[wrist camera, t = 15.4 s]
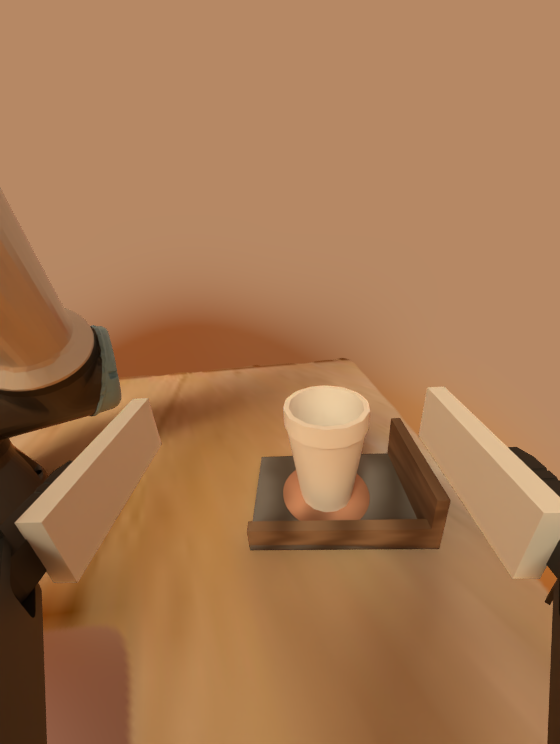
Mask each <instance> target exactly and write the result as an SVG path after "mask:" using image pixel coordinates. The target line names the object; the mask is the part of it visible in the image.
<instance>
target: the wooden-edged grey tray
mask: <svg viewBox="0 0 560 744" xmlns="http://www.w3.org/2000/svg"><path fill="white" fill-rule="evenodd" d="M449 505H450V499H449V497H448V495H447V494H446V492H445V491H444V489H443V487H442V486H441V484H440V483H439V481H438V479H437V478H436V476H435V474H434V473H433V471H432V470H431V468H430V466H429V465H428V463H427V461H426V460H425V458H424V457H423V455H422V453H421V452H420V450H419V448H418V447H417V445H416V444H415V442H414V440H413V439H412V437H411V435H410V434H409V432H408V431H407V429H406V427H405V426H404V424H403V422H402V421H401V419H400V418H392V419H391V425H390V435H389V445H388V453H387V454H361V457H360V461H359V465H358V470H357V474H356V478H355V483H354V487H353V491H352V495H351V498H350V500H349V502H348V504H347V505H346V506H345V507H343V508H342V509H340V510H338V511H334V512H323V511H319V510H315V509H313V508H312V507H311V506H309V505H308V504H307V503H306V502H305V500H304V498H303V496H302V492H301V489H300V485H299V481H298V476H297V472H296V467H295V463H294V459H293V456H283V457H262V460H261V467H260V474H259V481H258V488H257V495H256V502H255V509H254V516H253V521H250V522H248V528H247V535H248V541H249V547H250V550H337V549H439V547H440V543H441V539H442V534H443V530H444V526H445V522H446V517H447V513H448V509H449Z"/></svg>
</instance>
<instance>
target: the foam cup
mask: <svg viewBox="0 0 560 744" xmlns="http://www.w3.org/2000/svg"><path fill="white" fill-rule="evenodd" d="M283 414H284V426H285V428H286V430H287V432H288V436H289V441H290V445H291V450H292V454H293V459H294V463H295V467H296V472H297V476H298V481H299V485H300V489H301V492H302V496H303V498H304V500H305V502H306V503H307V504H308V505H309V506H311V507H312V508H313V509H315V510H319V511H323V512H334V511H338V510H340V509H342V508H343V507H345V506H346V505H347V504H348V502H349V500H350V498H351V495H352V491H353V487H354V483H355V478H356V474H357V470H358V465H359V461H360V457H361V452H362V448H363V444H364V439H365V435H366V433H367V431H368V430H369V419H370V409H369V404H368V401H367V400H366V399H365V398H364V397H363V396H361V395H360V394H359V393H358V392H355V391H352V390H349V389H346V388H344V387H336V386H327V385H325V386H314V387H308V388H305V389H302V390H299V391H296V392H294V393H293V394H292V395H291V396H289V397H288V398H287V399H286V400H285V404H284V407H283Z"/></svg>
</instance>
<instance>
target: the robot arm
mask: <svg viewBox="0 0 560 744" xmlns="http://www.w3.org/2000/svg"><path fill="white" fill-rule="evenodd" d="M120 401H121V389H120V383H119V378H118V374H117V369H116V363H115V358H114V353H113V349H112V345H111V341H110V337H109V334H108V331H107V330H106V328H104V327H101V326H94V325H93V326H89V324H88V323H87V321H86V320H85V319H84V318H83V317H81V316H80V315H79V314H77V313H75V312H73V311H71V310H69V309H66V308H64V307H63V305H62V303H61V301H60V300H59V298H58V296H57V294H56V292H55V290H54V288H53V286H52V284H51V283H50V281H49V279H48V277H47V275H46V273H45V271H44V269H43V268H42V266H41V264H40V262H39V260H38V258H37V256H36V254H35V253H34V251H33V249H32V247H31V245H30V243H29V241H28V239H27V237H26V235H25V234H24V232H23V230H22V228H21V226H20V224H19V222H18V220H17V218H16V217H15V215H14V213H13V211H12V209H11V207H10V205H9V203H8V202H7V200H6V198H5V196H4V194H3V192H2V190H1V188H0V744H47V735H46V705H45V677H44V676H45V675H44V647H43V617H42V590H41V588H40V585H39V584H38V582H39V581H40V579H41V578H42V576H43V575H44V574H45V572H47V573H48V575H49V576H50V578H51V579H52V581H53V582H54V583H77V582H78V581H79V579H80V578H81V576H82V574H83V573H84V571H85V569H86V568H87V566H88V564H89V563H90V561H91V559H92V558H93V556H94V555H95V553H96V551H97V550H98V548H99V546H100V545H101V543H102V541H103V540H104V538H105V536H106V535H107V533H108V531H109V530H110V528H111V527H112V525H113V523H114V522H115V520H116V518H117V517H118V515H119V513H120V512H121V510H122V508H123V507H124V505H125V504H126V502H127V500H128V499H129V497H130V495H131V494H132V492H133V490H134V489H135V487H136V485H137V484H138V482H139V480H140V479H141V477H142V476H143V474H144V472H145V471H146V469H147V467H148V466H149V464H150V462H151V461H152V459H153V457H154V456H155V454H156V453H157V451H158V449H159V448H160V446H161V444H162V443H161V440H160V436H159V433H158V430H157V426H156V423H155V419H154V416H153V412H152V409H151V406H150V402H149V399H148V398H142V399H132V400H131V401H130V402H129V403H128V404H127V405H126V407H125V408H124V409H123V410H122V411H121V412H120V413H119V414H118V415H117V416H116V417H115V418H114V419H113V420H112V421H111V422H110V423H109V424H108V425H107V426H106V427H105V429H104V430H103V431H102V432H101V433H100V434H99V435H98V436H97V437H96V438H95V439H94V440H93V441H92V442H91V443H90V444H89V445H88V446H87V447H86V448H85V449H84V450H83V452H82V453H81V454H80V455H79V456H78V457H77V458H76V459H75V460H74V461H68V462H67V463H65V464H64V465H62V466H61V467H59V468H58V469H56V470H55V471H54V472H53V473H52V474H51V475H50V476H49V477H48V475H47V473H46V472H45V470H44V469H43V468H42V467H41V466H40V465H39V464H37V463H36V462H35V461H33V460H32V459H31V458H29V457H28V456H27V455H25V454H24V453H23V452H21V451H20V450H19V449H17V448H16V447H15V446H13V444H12V443H11V441H10V440H9V438H10V437H14V436H17V435H21V434H24V433H28V432H32V431H35V430H39V429H43V428H46V427H50V426H54V425H57V424H61V423H65V422H68V421H72V420H75V419H79V418H83V417H86V416H96V415H97V414H98V413H101V412H104V411H107V410H110V409H113V408H115V407H116V406H117V405H118V404H119V403H120ZM419 437H420V439H421V440H422V442H423V444H424V445H425V447H426V448H427V450H428V451H429V453H430V454H431V456H432V457H433V459H434V460H435V462H436V463H437V465H438V466H439V468H440V469H441V471H442V472H443V474H444V475H445V477H446V479H447V480H448V482H449V483H450V485H451V486H452V488H453V489H454V491H455V492H456V494H457V495H458V497H459V498H460V500H461V501H462V503H463V504H464V506H465V507H466V509H467V510H468V512H469V514H470V515H471V517H472V518H473V520H474V521H475V523H476V524H477V526H478V527H479V529H480V530H481V532H482V533H483V535H484V536H485V538H486V539H487V541H488V542H489V544H490V545H491V547H492V549H493V550H494V552H495V553H496V555H497V556H498V558H499V559H500V561H501V562H502V564H503V565H504V567H505V568H506V570H507V571H508V573H509V574H510V576H511V577H512V579H540V578H541V575H542V573H543V572H544V570H545V568H546V566H548V567H549V568H550V570H551V571H552V572H553V573H554V575H555V576H556V577H557V578H558V579H557V581H556V582H555V584H554V586H553V587H552V589H551V591H550V592H549V594H548V596H547V598H546V600H545V603H547V604H549V605H550V604H551V602H552V601H553V619H552V644H551V669H550V693H549V718H548V743H547V744H560V481H558V479H557V477H556V476H555V475H553V474H552V473H551V472H550V471H547V469H546V467H545V466H543V465H542V464H541V463H540V462H539V461H538V460H536V458H534V457H533V456H531V455H530V454H528V453H526V452H524V451H523V450H521V449H519V448H517V447H507V446H506V445H505V444H504V443H503V442H502V441H501V440H499V439H498V438H497V437H496V436H495V435H494V434H493V433H492V432H491V431H490V430H489V429H488V428H487V427H486V426H485V425H484V424H483V423H482V422H481V421H480V420H479V419H477V417H475V416H474V415H473V414H472V413H471V412H470V411H469V410H468V409H467V408H466V407H465V406H464V405H463V404H462V403H461V402H460V401H459V400H458V399H457V398H456V397H455V396H454V395H452V394H451V393H450V392H449V391H448V390H447V389H446V388H445V387H428V388H427V392H426V398H425V403H424V409H423V414H422V420H421V425H420V431H419Z"/></svg>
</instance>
